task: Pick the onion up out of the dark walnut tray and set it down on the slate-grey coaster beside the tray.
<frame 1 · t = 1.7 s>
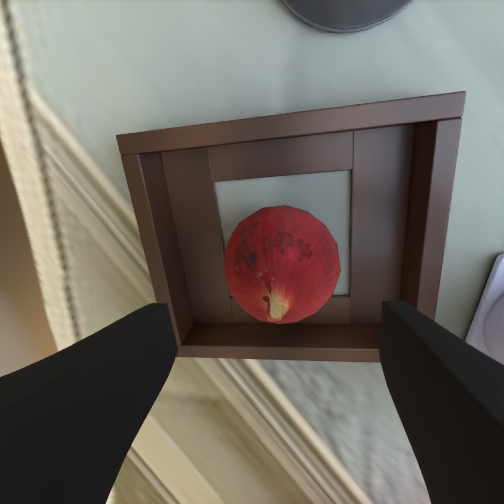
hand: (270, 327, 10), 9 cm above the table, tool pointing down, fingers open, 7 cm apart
tray: (284, 240, 18), on the table
onion: (284, 239, 18), resting in tray
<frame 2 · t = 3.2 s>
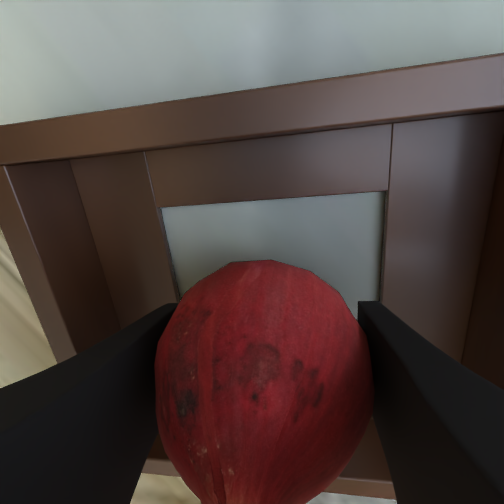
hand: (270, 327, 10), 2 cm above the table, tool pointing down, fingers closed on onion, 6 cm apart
tray: (273, 297, 12), on the table
onion: (273, 295, 12), resting in tray, touching gripper
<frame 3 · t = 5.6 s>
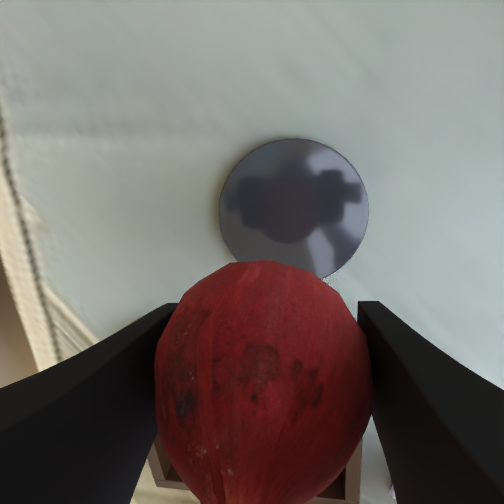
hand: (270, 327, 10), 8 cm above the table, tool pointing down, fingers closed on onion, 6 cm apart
tray: (248, 400, 23), on the table
coaster: (290, 215, 17), on the table
onion: (273, 295, 12), point 6 cm above the table, touching gripper
when the fingers open (3 cm above the table, at t = 8.1 s): onion stays where it is, resting on coaster.
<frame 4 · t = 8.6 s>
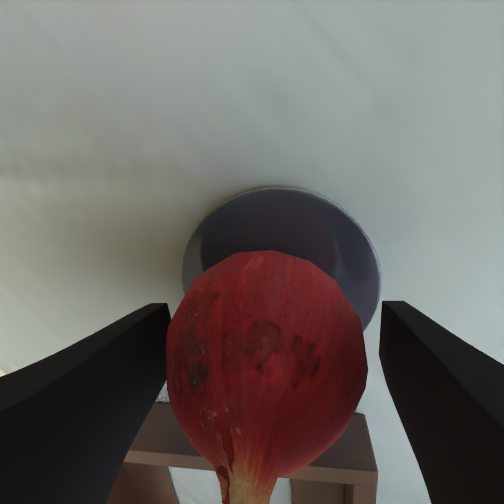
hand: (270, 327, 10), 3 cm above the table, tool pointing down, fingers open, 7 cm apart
tray: (230, 486, 19), on the table
coaster: (277, 282, 13), on the table
onion: (274, 286, 12), resting on coaster
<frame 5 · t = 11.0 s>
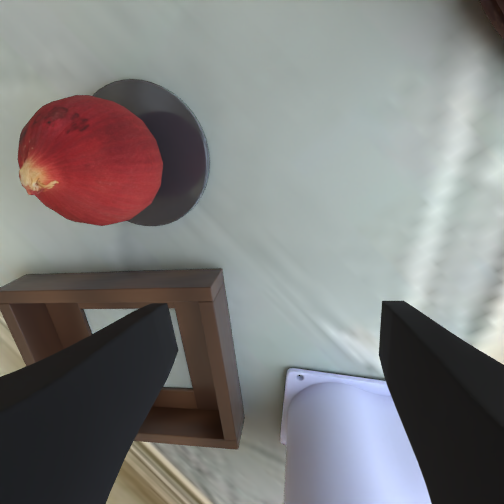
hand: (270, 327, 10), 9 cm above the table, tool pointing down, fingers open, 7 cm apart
tray: (140, 348, 24), on the table
coaster: (144, 158, 18), on the table
onion: (140, 158, 18), resting on coaster
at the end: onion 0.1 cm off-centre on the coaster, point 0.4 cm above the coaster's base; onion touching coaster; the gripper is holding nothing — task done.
